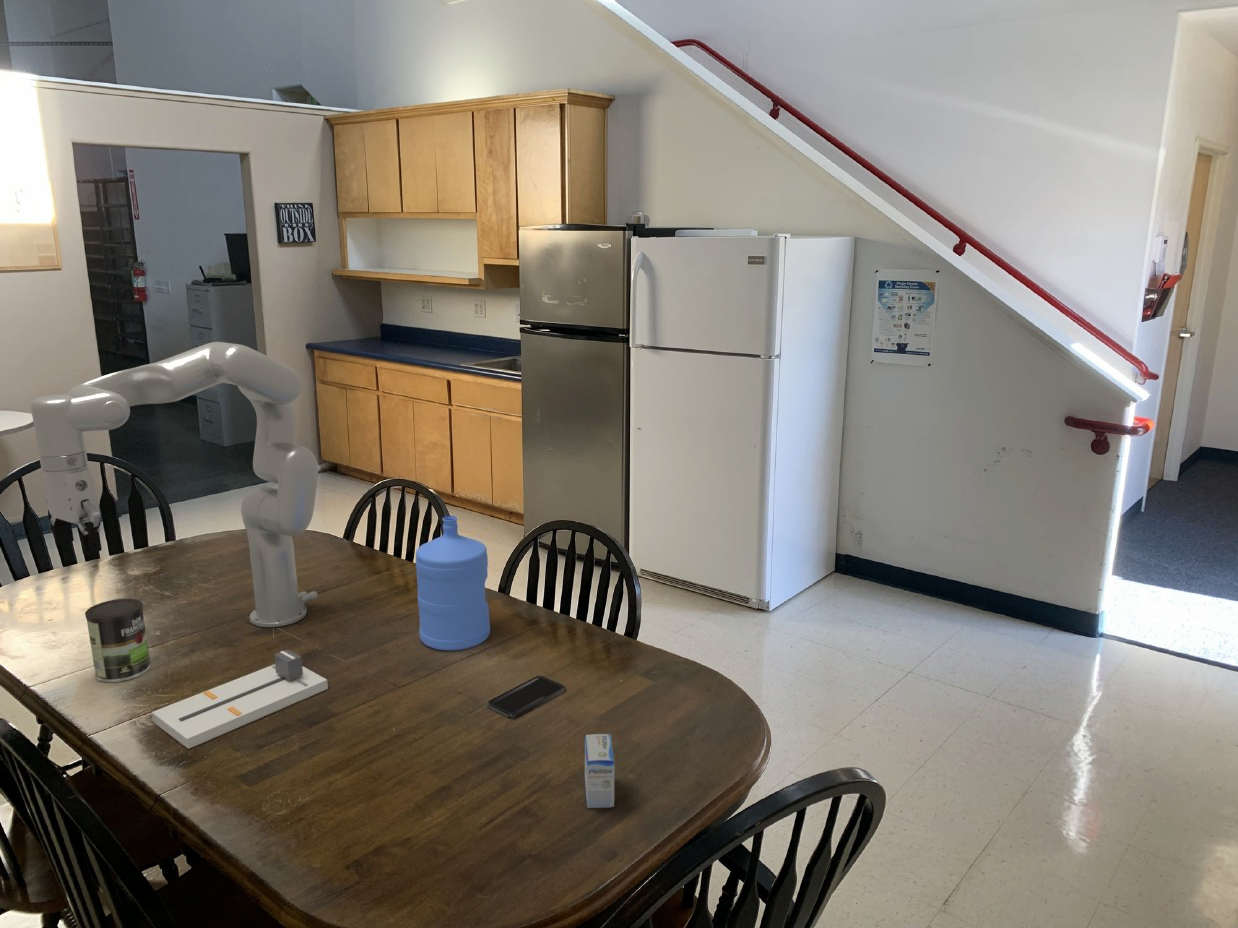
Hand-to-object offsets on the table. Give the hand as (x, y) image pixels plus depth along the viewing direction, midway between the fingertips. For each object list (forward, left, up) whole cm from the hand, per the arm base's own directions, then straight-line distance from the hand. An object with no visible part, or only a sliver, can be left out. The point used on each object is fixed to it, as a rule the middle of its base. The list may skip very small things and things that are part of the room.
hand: (78, 547), depth 173 cm
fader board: (-15, +28, -30) cm, 44 cm away
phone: (-52, +68, -30) cm, 91 cm away
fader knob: (-25, +28, -27) cm, 46 cm away
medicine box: (-38, +99, -30) cm, 110 cm away
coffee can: (-6, -4, -30) cm, 31 cm away
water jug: (-61, +36, -30) cm, 77 cm away
